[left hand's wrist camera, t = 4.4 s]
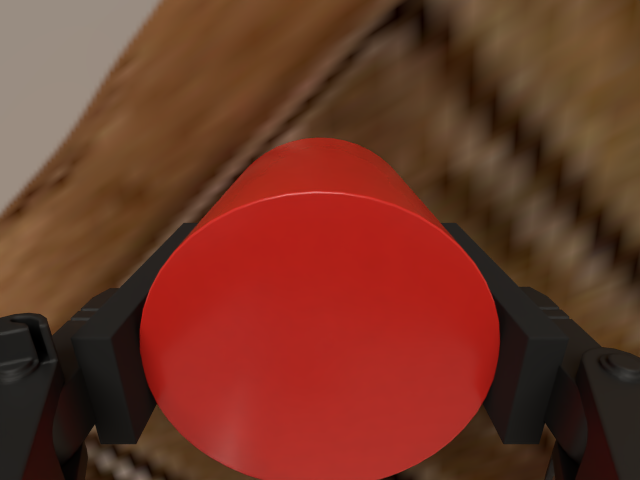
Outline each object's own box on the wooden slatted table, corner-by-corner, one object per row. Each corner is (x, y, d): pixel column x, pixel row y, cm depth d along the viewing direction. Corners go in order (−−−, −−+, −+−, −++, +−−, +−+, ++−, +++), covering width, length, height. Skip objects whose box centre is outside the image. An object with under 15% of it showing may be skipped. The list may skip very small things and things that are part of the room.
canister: (211, 140, 14) (99, 196, 7) (423, 134, 14) (530, 185, 7) (233, 320, 17) (171, 491, 10) (410, 316, 17) (477, 486, 10)
